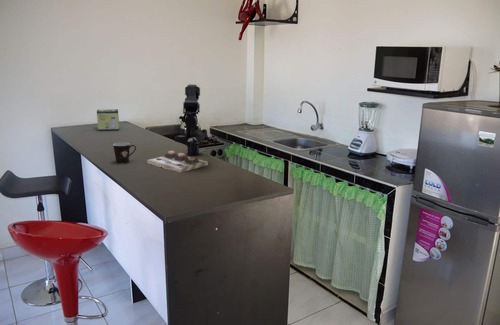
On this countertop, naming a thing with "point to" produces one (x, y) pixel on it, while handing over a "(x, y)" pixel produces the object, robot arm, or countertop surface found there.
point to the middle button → (181, 155)
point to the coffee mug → (122, 152)
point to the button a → (171, 152)
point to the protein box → (108, 120)
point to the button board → (177, 163)
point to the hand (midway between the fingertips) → (191, 153)
